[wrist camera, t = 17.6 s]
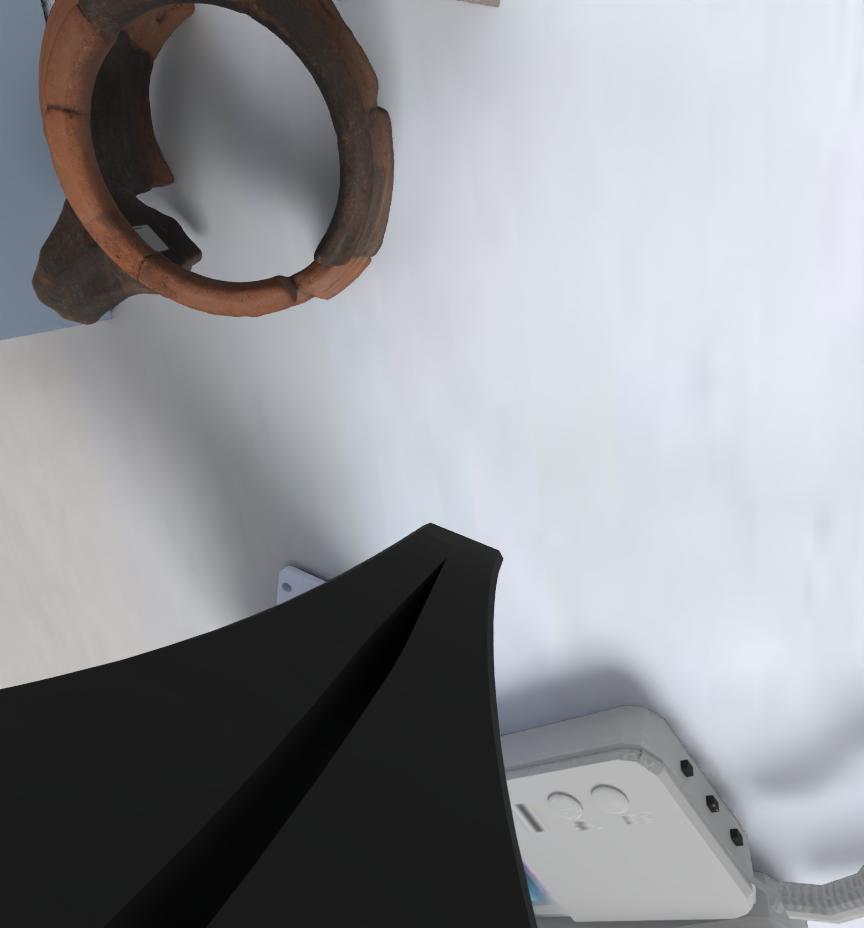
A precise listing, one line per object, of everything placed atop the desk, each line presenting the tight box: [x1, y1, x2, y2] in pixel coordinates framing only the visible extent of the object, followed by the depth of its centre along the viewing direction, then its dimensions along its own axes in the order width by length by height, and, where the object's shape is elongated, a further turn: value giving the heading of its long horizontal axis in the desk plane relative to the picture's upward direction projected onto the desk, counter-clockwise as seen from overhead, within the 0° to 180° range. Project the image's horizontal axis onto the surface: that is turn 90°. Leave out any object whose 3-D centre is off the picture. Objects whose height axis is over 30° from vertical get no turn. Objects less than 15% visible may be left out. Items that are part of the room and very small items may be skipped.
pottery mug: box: [32, 0, 394, 325], centre depth 16 cm, size 12×10×8 cm
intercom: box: [500, 706, 864, 928], centre depth 21 cm, size 13×4×25 cm
